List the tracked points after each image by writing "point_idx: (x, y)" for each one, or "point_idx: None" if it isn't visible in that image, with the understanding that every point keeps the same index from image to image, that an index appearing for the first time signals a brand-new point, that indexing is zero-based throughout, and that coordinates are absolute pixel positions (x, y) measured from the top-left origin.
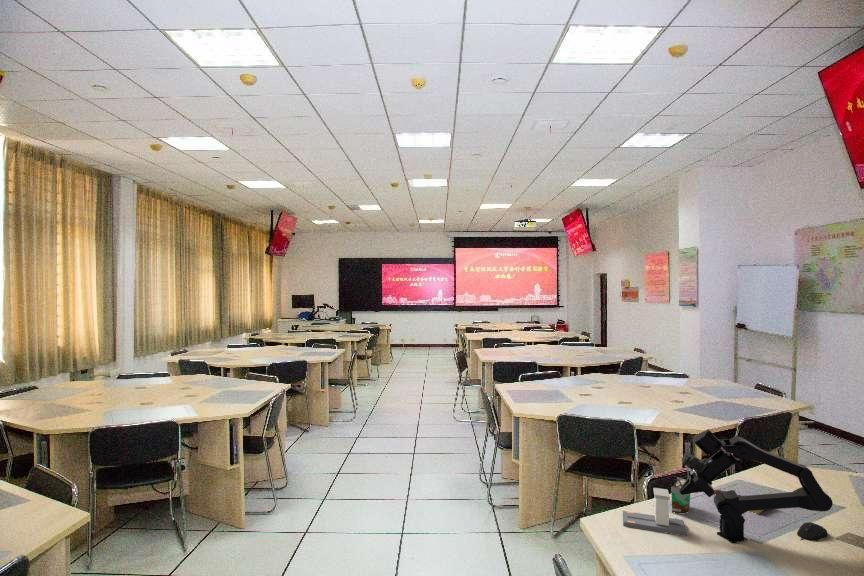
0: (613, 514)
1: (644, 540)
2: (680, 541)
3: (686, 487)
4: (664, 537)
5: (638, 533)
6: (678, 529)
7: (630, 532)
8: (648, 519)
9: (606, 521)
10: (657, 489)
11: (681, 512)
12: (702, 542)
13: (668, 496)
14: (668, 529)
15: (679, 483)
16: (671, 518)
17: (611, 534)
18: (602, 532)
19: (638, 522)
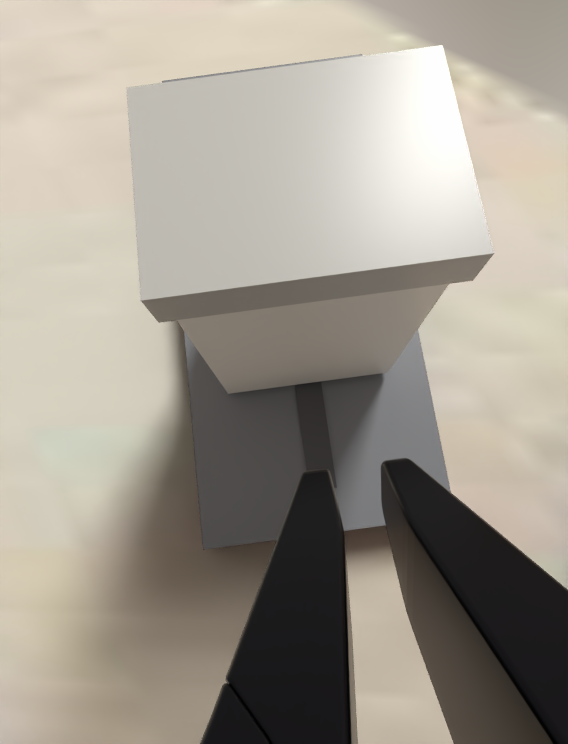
0: (332, 29)
1: (2, 249)
2: (91, 492)
3: (239, 685)
4: (110, 374)
5: (96, 204)
6: (215, 474)
7: (89, 156)
8: None
9: (191, 8)
10: (393, 104)
11: None
12: (149, 673)
13: (140, 280)
14: (191, 394)
15: None
16: (427, 411)
17: (8, 60)
18: (15, 12)
19: None
